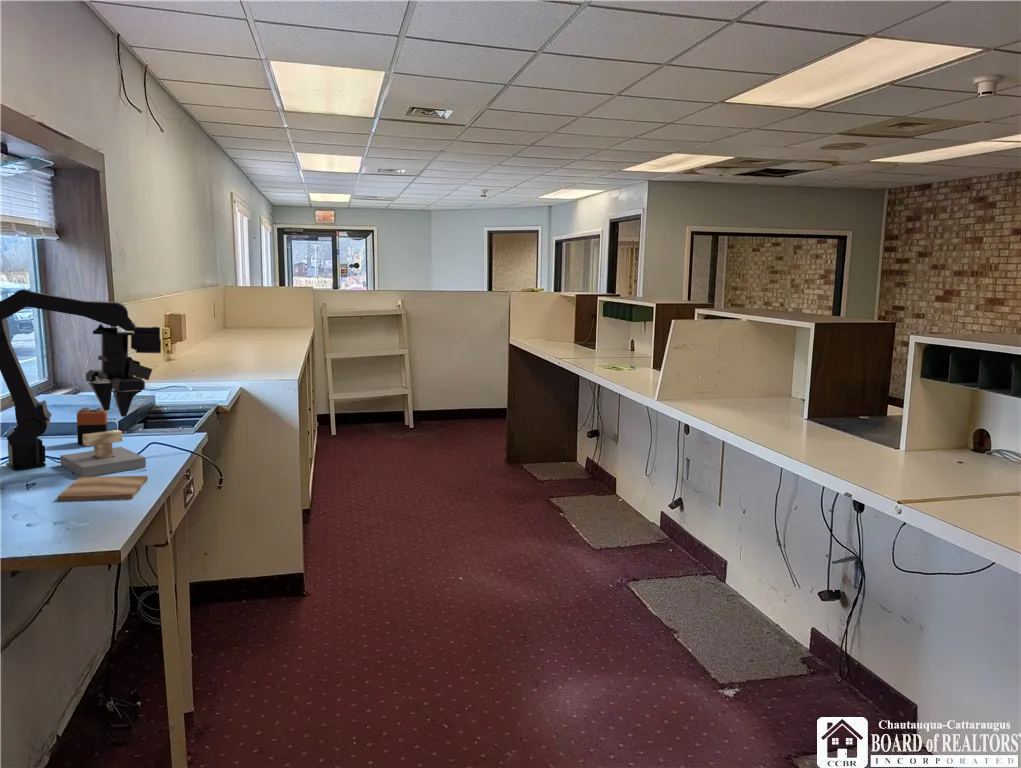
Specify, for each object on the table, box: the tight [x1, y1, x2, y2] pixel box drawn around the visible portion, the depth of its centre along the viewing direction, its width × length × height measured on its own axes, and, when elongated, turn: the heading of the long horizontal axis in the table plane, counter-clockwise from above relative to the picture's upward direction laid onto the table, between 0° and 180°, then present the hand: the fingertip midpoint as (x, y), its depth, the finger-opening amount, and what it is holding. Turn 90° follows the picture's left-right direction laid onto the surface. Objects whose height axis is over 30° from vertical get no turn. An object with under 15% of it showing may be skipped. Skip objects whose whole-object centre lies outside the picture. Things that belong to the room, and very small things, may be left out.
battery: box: [76, 406, 109, 446], centre depth 186 cm, size 4×7×10 cm, turn 115°
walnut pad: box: [57, 475, 149, 502], centre depth 149 cm, size 14×14×1 cm
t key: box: [82, 429, 123, 460], centre depth 166 cm, size 8×3×8 cm, turn 142°
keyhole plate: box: [59, 446, 147, 477], centre depth 166 cm, size 14×14×2 cm
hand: (115, 413), depth 170 cm, fingers open, 9 cm apart
